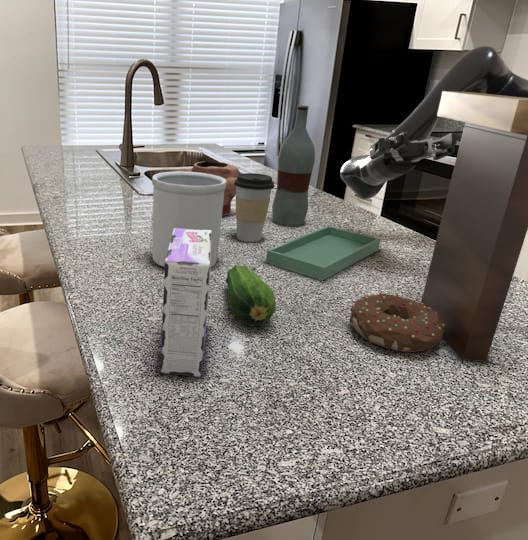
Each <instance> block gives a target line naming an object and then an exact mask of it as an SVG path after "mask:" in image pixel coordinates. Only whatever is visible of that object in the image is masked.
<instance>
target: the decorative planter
mask: <svg viewBox="0 0 528 540" xmlns="http://www.w3.org/2000/svg"><path fill="white" fill-rule="evenodd" d="M177 171H185V172H198V173H206V174H211V175H216V176H219V177H222V178H224V179H226V181H227V183H226V188H225V190H224V201H223V210H222V217H223V216H227V215H229V214H230V213H231V208H232V202H233V199H234V198H235V197H236V186H235V185H234V182H235V179H237V177H238V175H239V174H241V172H240V169H239V167H238V166H236V165H234V164H230V163H228V162H219V161H208V160H207V161H206V160H205V161H204V160H203V161H198V162H196V163H194V164H193V166H192V168H181V169H178V170H177Z"/></svg>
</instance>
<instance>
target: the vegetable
mask: <svg viewBox="0 0 528 540" xmlns="http://www.w3.org/2000/svg"><path fill="white" fill-rule="evenodd" d="M226 274H227V276H226V279H225V282H226V285H227V299H228V304H229V306H230V309H231V311H232V314H233V316H234V317H235V318H236V320H238V321H239V322H241V323H242V324H245V325H248V326H251V327H252V326H261V325H262V324H264V323H267V321H270V319H271V318H272V316H273V315H274V314H275V312H276V310H277V306H276V305H277V303H276V297H275V293H274V291H273V289H272V288H271V287H270V285H268V284H267V283H266V282H265V281H264V280H263V279H262V278H261V276H259V275H258V274H257V273H256V272H255V271H253V270H251V269H250V268H249V267H248V266H247V265H237V264H235V265H234V266H232V268H230V269H228V270H227V273H226Z"/></svg>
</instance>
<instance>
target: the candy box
mask: <svg viewBox="0 0 528 540" xmlns="http://www.w3.org/2000/svg"><path fill="white" fill-rule="evenodd" d="M211 239H212V231H211V230H201V229H182V228H174V230H173V233H172V237H171V241H170V244H169V248H168V252H167V255H166V259H165V267H164V273H163V297H162V318H161V319H162V320H161V321H162V322H161V345H160V346H161V347H160V371H159V372H160V373H161V374H168V375H176V376H177V375H179V376H185V377H186V376H187V377H195V378H196V377H197V378H201V376H202V375H203V363H204V353H205V343H206V334H207V322H208V312H209V311H208V309H209V297H210V282H211V268H212V267H211Z"/></svg>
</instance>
